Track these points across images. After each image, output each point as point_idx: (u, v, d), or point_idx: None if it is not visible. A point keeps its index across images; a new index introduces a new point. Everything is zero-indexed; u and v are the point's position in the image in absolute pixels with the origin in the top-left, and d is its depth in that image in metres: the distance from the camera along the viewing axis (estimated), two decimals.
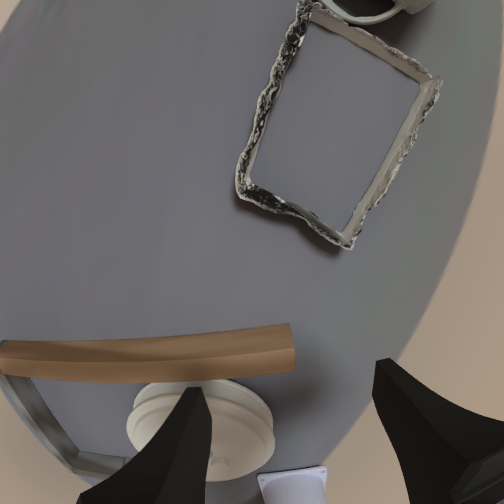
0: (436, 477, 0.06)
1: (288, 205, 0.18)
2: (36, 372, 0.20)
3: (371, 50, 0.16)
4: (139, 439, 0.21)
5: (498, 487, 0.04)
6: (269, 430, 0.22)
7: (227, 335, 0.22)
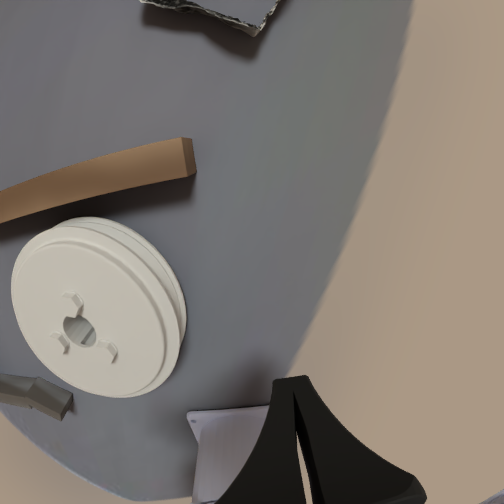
0: None
1: (186, 1, 0.13)
2: None
3: None
4: (19, 310, 0.16)
5: None
6: (164, 294, 0.17)
7: None
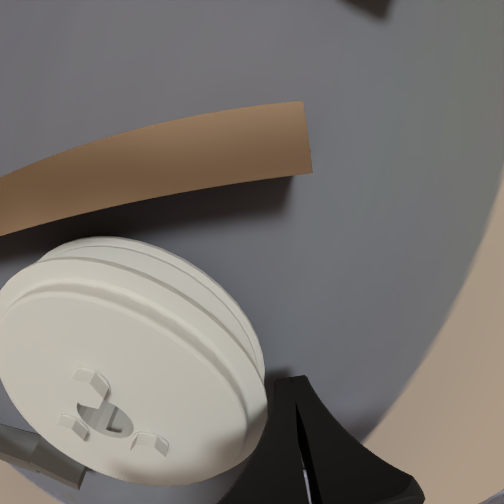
0: None
1: None
2: None
3: None
4: (7, 379, 0.09)
5: None
6: (252, 370, 0.10)
7: None
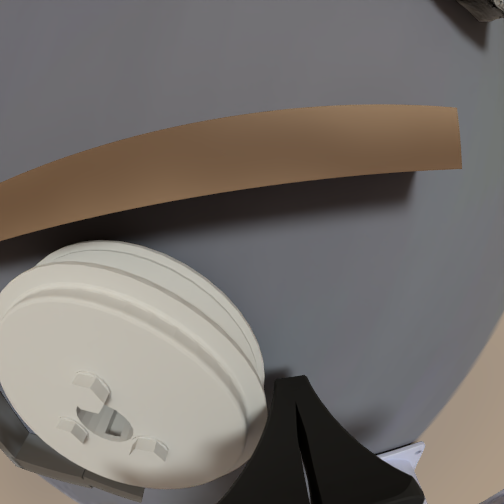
0: None
1: None
2: None
3: None
4: (6, 381, 0.09)
5: None
6: (254, 377, 0.10)
7: None
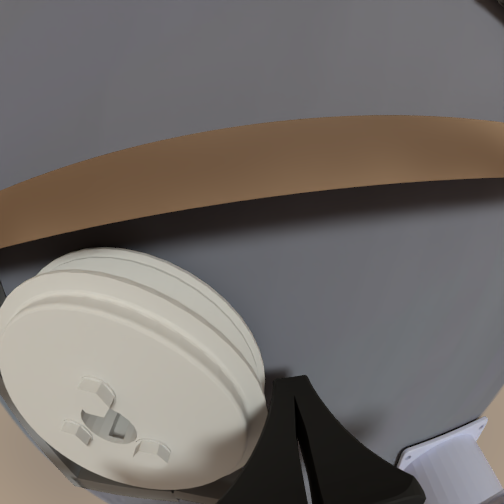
0: None
1: None
2: (14, 225, 0.08)
3: None
4: (10, 384, 0.10)
5: None
6: (255, 383, 0.10)
7: None
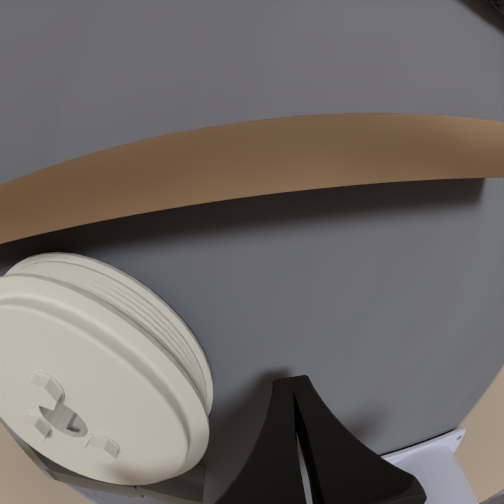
0: None
1: None
2: None
3: None
4: None
5: None
6: (189, 387, 0.10)
7: None
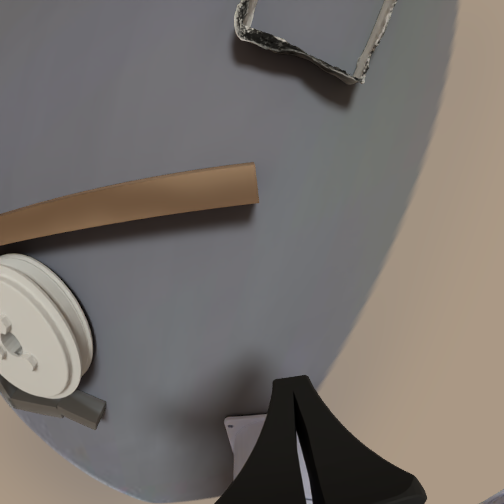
0: None
1: (289, 44, 0.15)
2: None
3: None
4: None
5: None
6: (64, 323, 0.18)
7: (179, 172, 0.18)
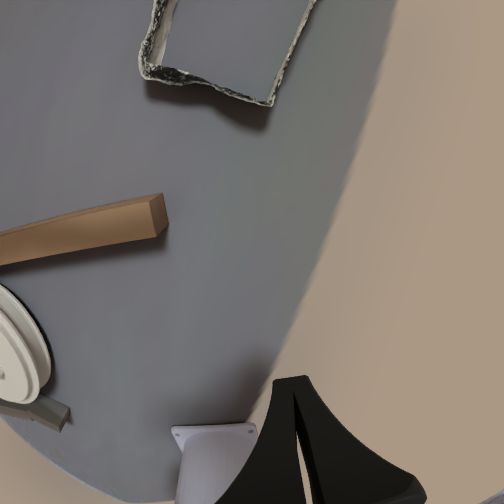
0: None
1: (193, 76, 0.15)
2: None
3: None
4: None
5: None
6: (19, 339, 0.19)
7: (98, 207, 0.18)
